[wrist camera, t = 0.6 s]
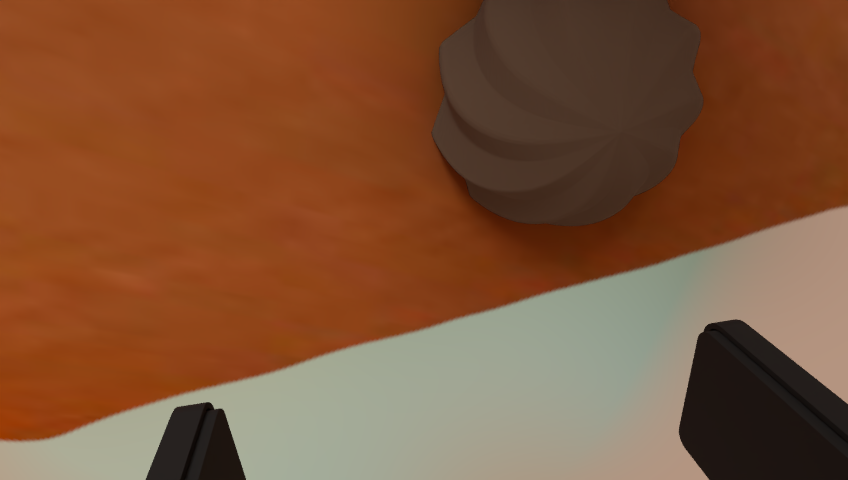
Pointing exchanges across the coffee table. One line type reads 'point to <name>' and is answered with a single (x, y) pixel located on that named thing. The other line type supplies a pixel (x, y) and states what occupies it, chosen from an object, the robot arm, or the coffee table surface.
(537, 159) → the decorative dome
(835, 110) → the coffee table surface
